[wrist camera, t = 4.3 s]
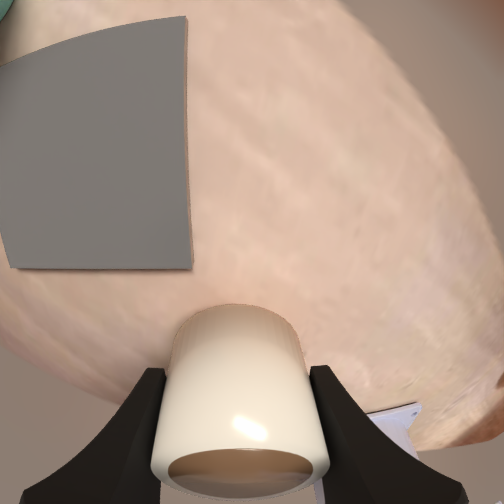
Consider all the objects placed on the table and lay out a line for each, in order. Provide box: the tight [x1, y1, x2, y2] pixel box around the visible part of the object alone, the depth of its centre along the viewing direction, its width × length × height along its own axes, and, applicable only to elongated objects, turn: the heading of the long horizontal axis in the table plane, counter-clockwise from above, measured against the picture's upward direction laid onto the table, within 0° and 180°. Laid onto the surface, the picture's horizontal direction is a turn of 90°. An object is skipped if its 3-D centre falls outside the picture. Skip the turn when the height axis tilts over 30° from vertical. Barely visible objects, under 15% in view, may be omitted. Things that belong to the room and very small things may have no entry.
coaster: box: [0, 16, 194, 269], centre depth 9 cm, size 9×9×1 cm
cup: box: [151, 304, 330, 501], centre depth 9 cm, size 5×5×6 cm
